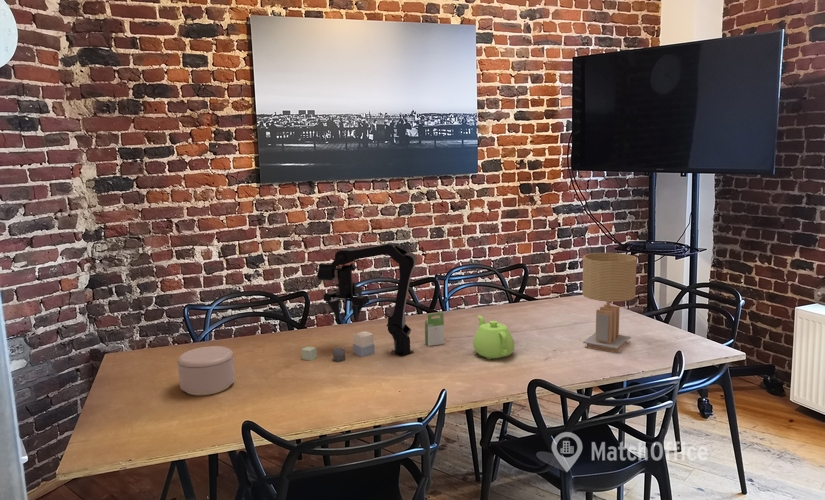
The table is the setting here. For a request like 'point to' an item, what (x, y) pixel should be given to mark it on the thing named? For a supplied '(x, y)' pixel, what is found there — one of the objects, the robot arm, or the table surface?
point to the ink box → (434, 330)
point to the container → (206, 370)
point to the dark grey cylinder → (339, 354)
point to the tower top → (363, 339)
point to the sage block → (309, 353)
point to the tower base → (363, 350)
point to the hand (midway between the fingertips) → (346, 319)
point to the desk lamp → (608, 295)
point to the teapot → (493, 340)
